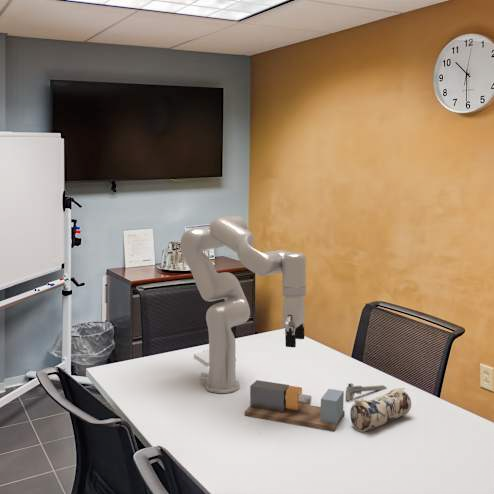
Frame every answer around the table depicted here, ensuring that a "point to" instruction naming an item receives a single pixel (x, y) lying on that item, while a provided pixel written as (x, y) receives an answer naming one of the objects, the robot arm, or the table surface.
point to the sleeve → (268, 396)
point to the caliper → (360, 390)
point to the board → (296, 416)
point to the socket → (332, 406)
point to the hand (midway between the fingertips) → (295, 342)
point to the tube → (296, 398)
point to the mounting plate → (204, 357)
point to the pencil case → (379, 410)
